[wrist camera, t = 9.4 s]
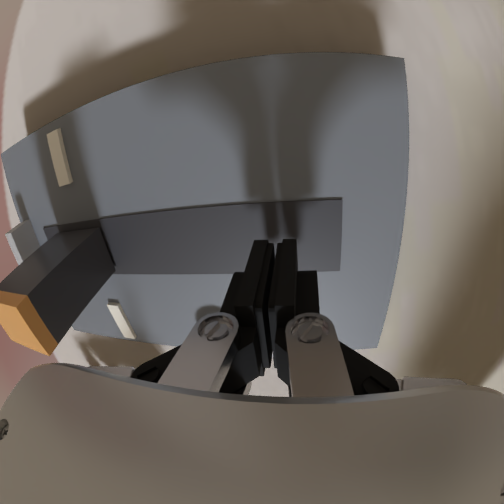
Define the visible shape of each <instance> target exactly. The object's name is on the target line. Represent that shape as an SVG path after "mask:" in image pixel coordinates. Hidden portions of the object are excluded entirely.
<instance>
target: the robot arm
mask: <svg viewBox="0 0 504 504" xmlns="http://www.w3.org/2000/svg"><path fill="white" fill-rule="evenodd" d="M272 352H273V359H274V368H277V372H278V377H279V378H280V379H281V380H282V381H283V382H285V383H286V384H287V385H288V392H289V397H270V396H252V395H248V394H249V392H250V389H251V384H252V383H251V381H252V380H254V379H255V378H257V377H258V376H264V372H265V368H270V366H271V360H272ZM0 504H504V394H502V393H501V392H499V391H496V390H494V389H491V388H487V387H481V386H474V385H467V384H466V383H465V382H463V381H461V380H458V379H443V378H419V377H404V378H403V380H401V379H395V377H393V376H392V375H391V374H390V373H389V372H387V371H385V370H384V369H382V368H381V367H379V366H378V365H376V364H374V363H373V362H371V361H370V360H368V359H367V358H365V357H363V356H362V355H360V354H359V353H357V352H356V351H354V350H353V349H351V348H350V347H348V346H346V345H345V344H343V343H342V342H340V341H339V340H338V337H337V334H336V330H335V327H334V325H333V323H332V321H331V320H330V319H329V318H327V317H326V316H324V315H322V314H320V307H319V292H318V278H317V270H308V271H298V257H297V239H283V241H282V243H277V249H276V256H275V250H274V243H269V241H268V240H254V242H253V245H252V248H251V252H250V255H249V258H248V261H247V264H246V268H245V271H244V272H234V274H233V276H232V279H231V282H230V284H229V287H228V290H227V293H226V295H225V298H224V301H223V304H222V307H221V309H220V312H216V313H211V314H208V315H205V316H204V317H202V318H201V319H199V320H198V321H197V322H196V323H195V325H194V326H193V328H192V330H191V331H190V333H189V334H188V336H187V337H186V339H185V340H184V342H183V344H181V345H179V346H177V347H176V348H174V349H172V350H170V351H168V352H166V353H164V354H162V355H160V356H158V357H156V358H154V359H152V360H150V361H148V362H146V363H144V364H142V365H140V366H139V367H137V368H136V369H134V368H133V366H126V367H109V366H90V367H84V366H80V365H74V364H67V363H50V364H42V365H38V366H35V367H33V368H31V369H30V370H29V371H28V372H27V373H26V374H25V375H24V376H23V377H22V378H21V380H20V381H19V382H18V383H17V385H16V386H15V388H14V389H13V390H12V392H11V393H10V395H9V397H8V398H7V400H6V401H5V403H4V405H3V407H2V408H1V410H0Z"/></svg>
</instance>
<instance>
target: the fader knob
mask: <svg viewBox="0 0 504 504" xmlns="http://www.w3.org/2000/svg"><path fill="white" fill-rule="evenodd" d="M115 271H116V270H115V267H114V265H113V263H112V260H111V258H110V255H109V252H108V250H107V247H106V244H105V242H104V239H103V236H102V234H101V231H100V228H92V229H84V230H76V231H68V232H61V233H56V234H55V235H54V236H53V237H51V238H50V239H49V240H48V241H47V242H45V243H44V244H43V245H42V246H40V247H39V248H38V249H37V250H36V251H35V252H33V253H32V254H31V255H30V256H29V257H28V258H26V259H25V260H24V261H23V262H22V263H21V264H20V265H19V266H18V267H17V268H16V269H14V270H13V271H12V272H11V273H10V274H9V275H8V276H7V277H6V278H5V279H4V280H3V281H2V282H1V283H0V324H1V325H2V327H3V328H4V330H5V331H6V333H7V334H8V336H9V337H10V338H11V340H12V341H15V342H17V343H19V344H21V345H23V346H26V347H28V348H30V349H33V350H35V351H38V352H40V353H43V354H45V355H48V356H50V355H51V354H52V352H53V351H54V349H55V348H56V347H57V345H58V344H59V342H60V341H61V339H62V338H63V337H64V335H65V334H66V333H67V331H68V330H69V328H70V327H71V326H72V324H73V323H74V322H75V320H76V319H77V318H78V317H79V315H80V314H81V313H82V311H83V310H84V309H85V307H86V306H87V305H88V304H89V302H90V301H91V300H92V299H93V297H94V296H95V295H96V294H97V292H98V291H99V290H100V289H101V288H102V286H103V285H104V284H105V283H106V282H107V280H108V279H109V278H110V277H111V276H112V274H113V273H114V272H115Z"/></svg>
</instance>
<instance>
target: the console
mask: <svg viewBox="0 0 504 504" xmlns="http://www.w3.org/2000/svg"><path fill="white" fill-rule="evenodd" d="M1 157H2V162H3V166H4V170H5V174H6V178H7V182H8V185H9V189H10V192H11V195H12V199H13V202H14V205H15V208H16V211H17V214H18V217H19V219H20V222H21V223H20V224H18V225H17V226H16V227H14V228H13V229H12V230H10V231H9V232H7V233H6V234H5V235H6V237H7V240H8V242H9V245H10V247H11V249H12V251H13V254H14V256H15V258H16V260H17V263H18V265H20V264H21V263H22V262H23V261H24V260H25V259H26V258H28V257H29V256H30V255H31V254H32V253H33V252H35V251H36V250H37V249H38V248H39V247H40V246H42V245H43V244H44V243H45V242H47V241H48V240H49V239H50V238H51V237H53V236H54V235H55V234H56V233H61V232H68V231H76V230H84V229H92V228H100V231H101V234H102V236H103V239H104V242H105V244H106V247H107V250H108V252H109V255H110V258H111V260H112V263H113V265H114V267H115V270H116V271H115V272H114V273H113V274H112V276H111V277H110V278H109V279H108V280H107V282H106V283H105V284H104V285H103V286H102V288H101V289H100V290H99V291H98V292H97V294H96V295H95V296H94V297H93V299H92V300H91V301H90V302H89V304H88V305H87V306H86V307H85V309H84V310H83V311H82V313H81V314H80V315H79V317H78V318H77V319H76V320H75V322H74V323H73V324H72V327H73V328H74V330H77V331H82V332H87V333H92V334H97V335H102V336H108V337H113V338H119V339H125V340H132V341H139V342H146V343H153V344H161V345H170V346H179V345H181V344H183V342H184V340H185V339H186V337H187V336H188V334H189V333H190V331H191V330H192V328H193V326H194V325H195V323H196V322H197V321H198V320H199V319H201V318H202V317H204V316H205V315H208V314H211V313H216V312H220V309H221V307H222V304H223V301H224V298H225V295H226V293H227V290H228V287H229V284H230V282H231V279H232V276H233V274H234V272H244V271H245V268H246V264H247V261H248V258H249V255H250V252H251V248H252V245H253V242H254V240H268V241H269V243H274V250H275V256H276V249H277V243H282V241H283V239H297V257H298V271H308V270H317V278H318V292H319V307H320V314H322V315H324V316H326V317H327V318H329V319H330V320H331V321H332V323H333V325H334V327H335V330H336V334H337V337H338V340H339V341H340V342H342V343H343V344H345V345H346V346H348V347H350V348H351V349H353V350H355V349H369V348H377V346H378V343H379V339H380V336H381V332H382V329H383V325H384V321H385V317H386V314H387V310H388V306H389V301H390V297H391V293H392V288H393V283H394V279H395V274H396V268H397V263H398V257H399V251H400V245H401V238H402V231H403V224H404V215H405V206H406V195H407V182H408V163H409V112H408V94H407V81H406V71H405V63H404V58H399V57H391V56H383V55H373V54H361V53H342V52H306V53H286V54H273V55H263V56H255V57H247V58H240V59H234V60H228V61H222V62H217V63H211V64H207V65H202V66H197V67H193V68H189V69H185V70H181V71H177V72H173V73H170V74H166V75H163V76H160V77H156V78H153V79H150V80H147V81H144V82H141V83H138V84H135V85H132V86H129V87H127V88H124V89H121V90H119V91H116V92H114V93H111V94H109V95H106V96H104V97H101V98H99V99H97V100H94V101H92V102H90V103H88V104H86V105H84V106H81V107H79V108H77V109H75V110H73V111H71V112H69V113H67V114H65V115H63V116H61V117H60V118H58V119H56V120H54V121H52V122H50V123H49V124H47V125H45V126H43V127H42V128H40V129H38V130H37V131H35V132H33V133H32V134H30V135H29V136H27V137H25V138H24V139H22V140H21V141H19V142H18V143H16V144H15V145H13V146H12V147H10V148H9V149H7V150H6V151H5V152H3V153H2V154H1ZM272 357H273V352H272Z"/></svg>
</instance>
